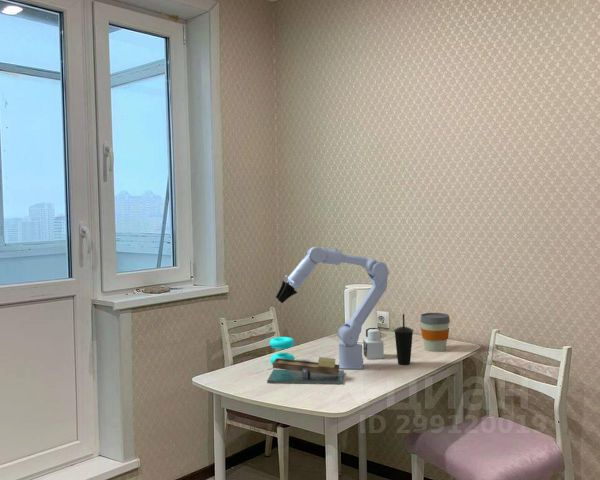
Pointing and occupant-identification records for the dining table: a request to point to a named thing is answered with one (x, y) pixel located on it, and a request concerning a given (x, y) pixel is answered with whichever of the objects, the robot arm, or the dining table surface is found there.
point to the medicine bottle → (373, 344)
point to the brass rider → (326, 362)
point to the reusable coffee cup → (435, 331)
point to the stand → (304, 377)
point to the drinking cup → (403, 343)
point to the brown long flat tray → (298, 365)
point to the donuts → (281, 347)
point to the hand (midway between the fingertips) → (278, 300)
